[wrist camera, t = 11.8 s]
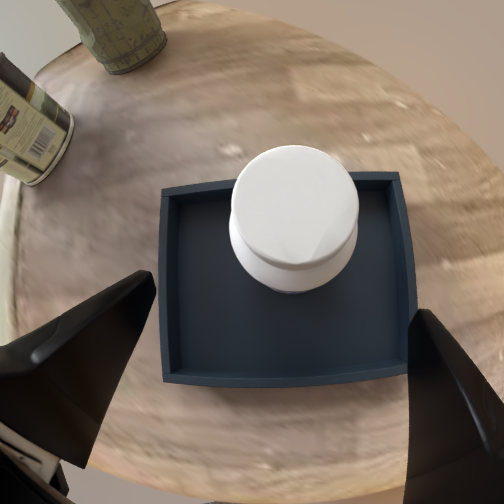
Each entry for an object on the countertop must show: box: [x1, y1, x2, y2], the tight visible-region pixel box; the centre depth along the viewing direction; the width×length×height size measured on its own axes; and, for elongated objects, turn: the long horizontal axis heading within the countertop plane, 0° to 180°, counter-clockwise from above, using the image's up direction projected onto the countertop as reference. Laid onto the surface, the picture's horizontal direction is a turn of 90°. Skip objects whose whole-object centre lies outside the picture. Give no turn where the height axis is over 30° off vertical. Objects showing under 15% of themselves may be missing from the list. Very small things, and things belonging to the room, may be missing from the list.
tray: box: [158, 172, 418, 388], centre depth 16 cm, size 12×15×3 cm
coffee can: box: [0, 52, 74, 186], centre depth 17 cm, size 10×10×14 cm
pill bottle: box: [229, 145, 359, 294], centre depth 12 cm, size 5×5×9 cm
